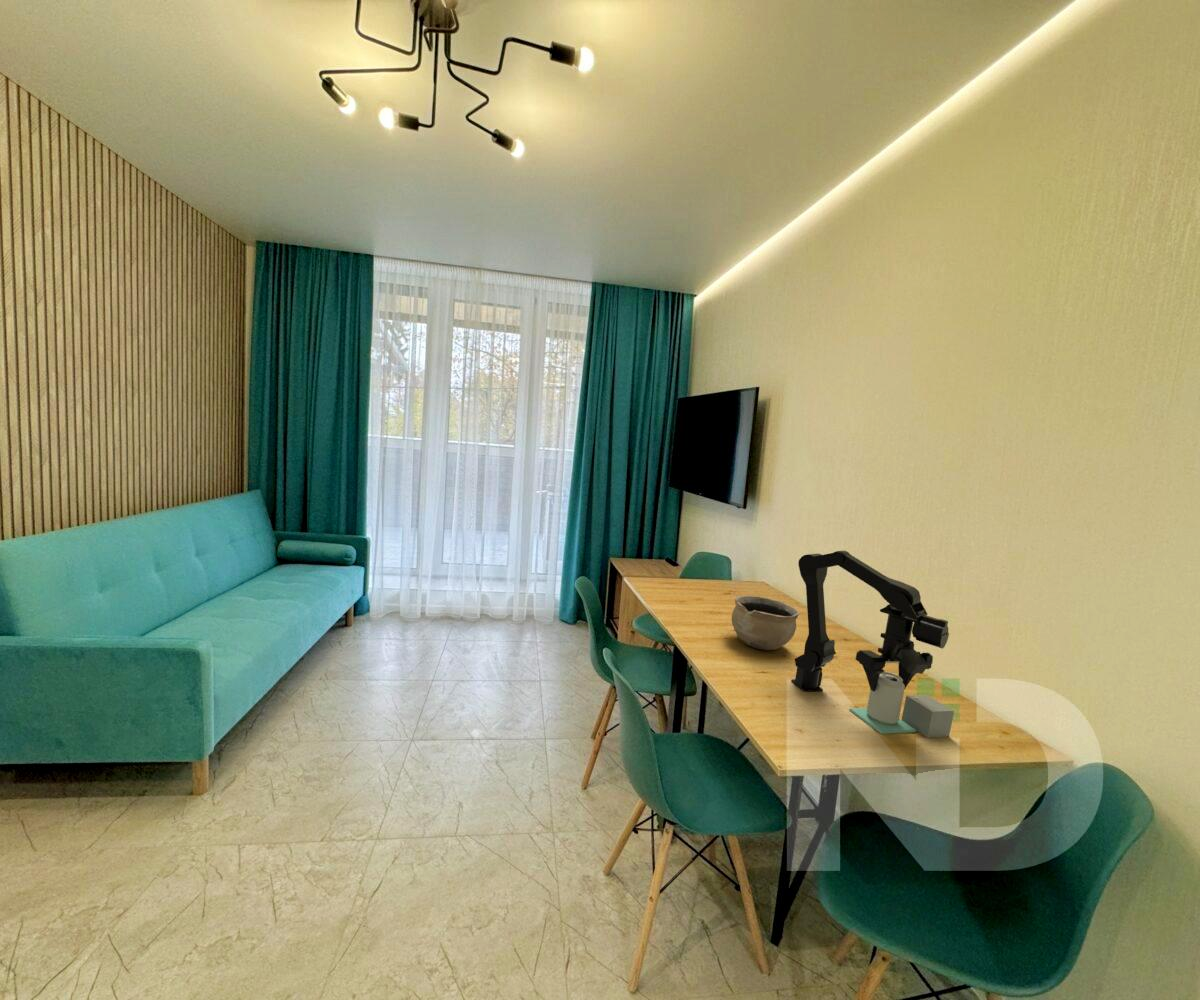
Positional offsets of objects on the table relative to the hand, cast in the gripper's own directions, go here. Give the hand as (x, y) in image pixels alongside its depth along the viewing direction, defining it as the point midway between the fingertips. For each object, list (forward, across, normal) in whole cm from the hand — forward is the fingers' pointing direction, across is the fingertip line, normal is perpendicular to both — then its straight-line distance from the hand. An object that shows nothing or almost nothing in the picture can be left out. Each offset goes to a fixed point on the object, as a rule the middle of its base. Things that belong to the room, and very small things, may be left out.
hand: (887, 690), depth 133 cm
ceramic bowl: (+9, -6, +49) cm, 50 cm away
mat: (+8, 0, 0) cm, 8 cm away
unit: (+8, +10, -4) cm, 14 cm away
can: (+8, 0, 0) cm, 8 cm away
